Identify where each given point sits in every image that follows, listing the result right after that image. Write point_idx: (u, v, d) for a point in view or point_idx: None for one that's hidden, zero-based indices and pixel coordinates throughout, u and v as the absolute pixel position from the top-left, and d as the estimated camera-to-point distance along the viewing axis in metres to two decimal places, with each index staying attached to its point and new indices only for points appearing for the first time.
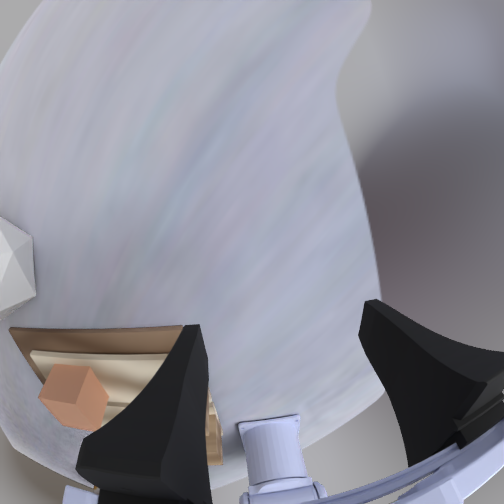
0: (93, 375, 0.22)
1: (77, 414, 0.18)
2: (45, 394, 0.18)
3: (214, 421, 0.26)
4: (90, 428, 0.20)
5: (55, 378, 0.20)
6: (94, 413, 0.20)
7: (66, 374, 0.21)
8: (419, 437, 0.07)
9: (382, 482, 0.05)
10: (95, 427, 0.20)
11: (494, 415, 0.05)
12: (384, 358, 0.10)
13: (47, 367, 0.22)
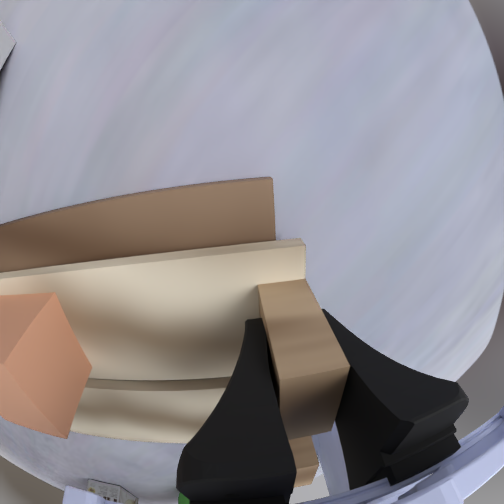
0: (60, 313, 0.11)
1: (14, 394, 0.07)
2: None
3: None
4: (49, 429, 0.08)
5: None
6: (55, 396, 0.09)
7: (8, 309, 0.09)
8: (355, 462, 0.06)
9: (382, 482, 0.05)
10: (58, 428, 0.08)
11: (439, 451, 0.05)
12: None
13: None
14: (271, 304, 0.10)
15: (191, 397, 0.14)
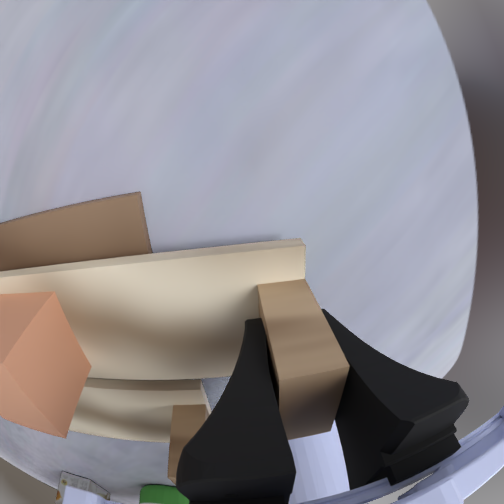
0: (59, 312, 0.11)
1: (14, 393, 0.07)
2: None
3: (203, 417, 0.14)
4: (48, 429, 0.08)
5: None
6: (54, 395, 0.09)
7: (8, 307, 0.09)
8: (355, 462, 0.06)
9: (382, 482, 0.05)
10: (56, 428, 0.08)
11: (439, 451, 0.05)
12: None
13: None
14: (271, 304, 0.10)
15: (106, 395, 0.14)
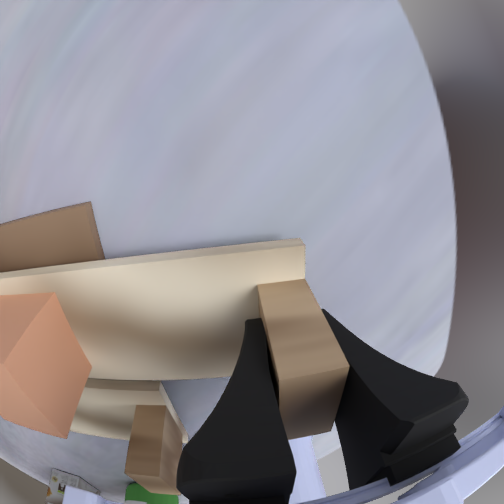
0: (59, 313, 0.11)
1: (14, 394, 0.07)
2: None
3: (162, 418, 0.13)
4: (48, 429, 0.08)
5: None
6: (55, 396, 0.09)
7: (8, 308, 0.09)
8: (355, 462, 0.06)
9: (382, 482, 0.05)
10: (57, 428, 0.08)
11: (439, 451, 0.05)
12: None
13: None
14: (271, 304, 0.10)
15: None
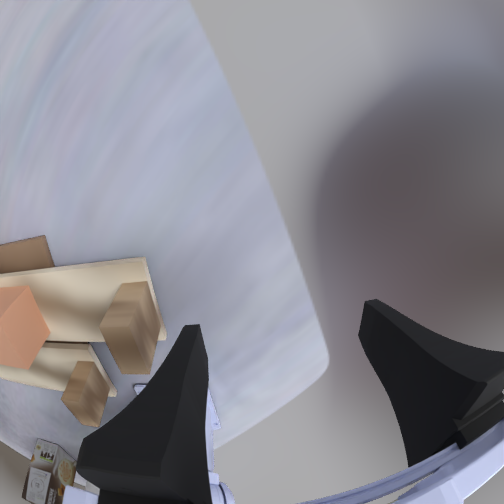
0: (31, 297, 0.17)
1: (2, 338, 0.14)
2: None
3: (89, 368, 0.20)
4: (19, 363, 0.15)
5: None
6: (24, 343, 0.15)
7: (3, 294, 0.16)
8: (419, 437, 0.07)
9: (382, 482, 0.05)
10: (23, 361, 0.15)
11: (494, 415, 0.05)
12: (384, 358, 0.10)
13: None
14: (120, 294, 0.17)
15: (44, 352, 0.20)
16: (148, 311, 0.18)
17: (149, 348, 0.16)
